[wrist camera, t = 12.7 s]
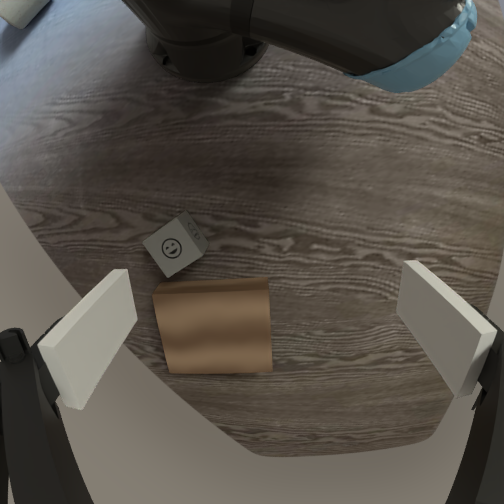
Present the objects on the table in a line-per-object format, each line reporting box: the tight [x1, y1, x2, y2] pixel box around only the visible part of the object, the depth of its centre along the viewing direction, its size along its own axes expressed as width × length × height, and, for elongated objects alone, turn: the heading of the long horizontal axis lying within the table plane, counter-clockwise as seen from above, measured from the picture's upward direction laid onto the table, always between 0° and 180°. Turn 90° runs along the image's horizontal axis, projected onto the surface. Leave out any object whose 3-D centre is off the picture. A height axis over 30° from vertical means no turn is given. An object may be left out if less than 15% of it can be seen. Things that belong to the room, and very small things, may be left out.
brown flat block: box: [152, 277, 272, 374], centre depth 40 cm, size 12×14×4 cm
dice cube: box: [142, 210, 209, 278], centre depth 36 cm, size 5×5×5 cm
